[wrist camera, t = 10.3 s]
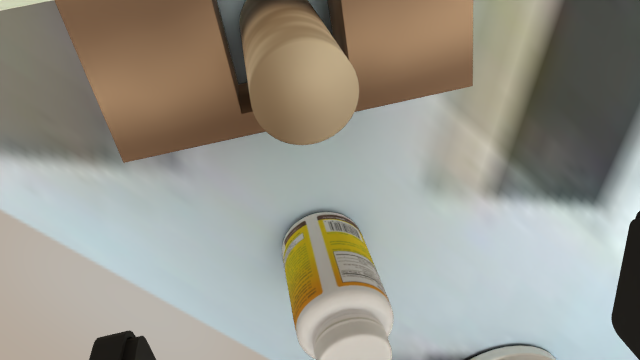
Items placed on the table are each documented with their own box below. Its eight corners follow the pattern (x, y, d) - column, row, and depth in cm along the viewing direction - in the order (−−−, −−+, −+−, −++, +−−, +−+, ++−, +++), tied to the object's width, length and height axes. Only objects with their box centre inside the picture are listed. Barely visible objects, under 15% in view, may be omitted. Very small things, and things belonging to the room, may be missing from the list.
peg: (308, -23, 26) (352, 30, 18) (320, 53, 28) (364, 132, 20) (231, -7, 26) (238, 54, 18) (249, 68, 28) (263, 154, 20)
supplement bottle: (291, 281, 37) (314, 408, 28) (271, 220, 34) (291, 342, 25) (366, 260, 37) (412, 380, 28) (354, 198, 34) (401, 312, 25)
